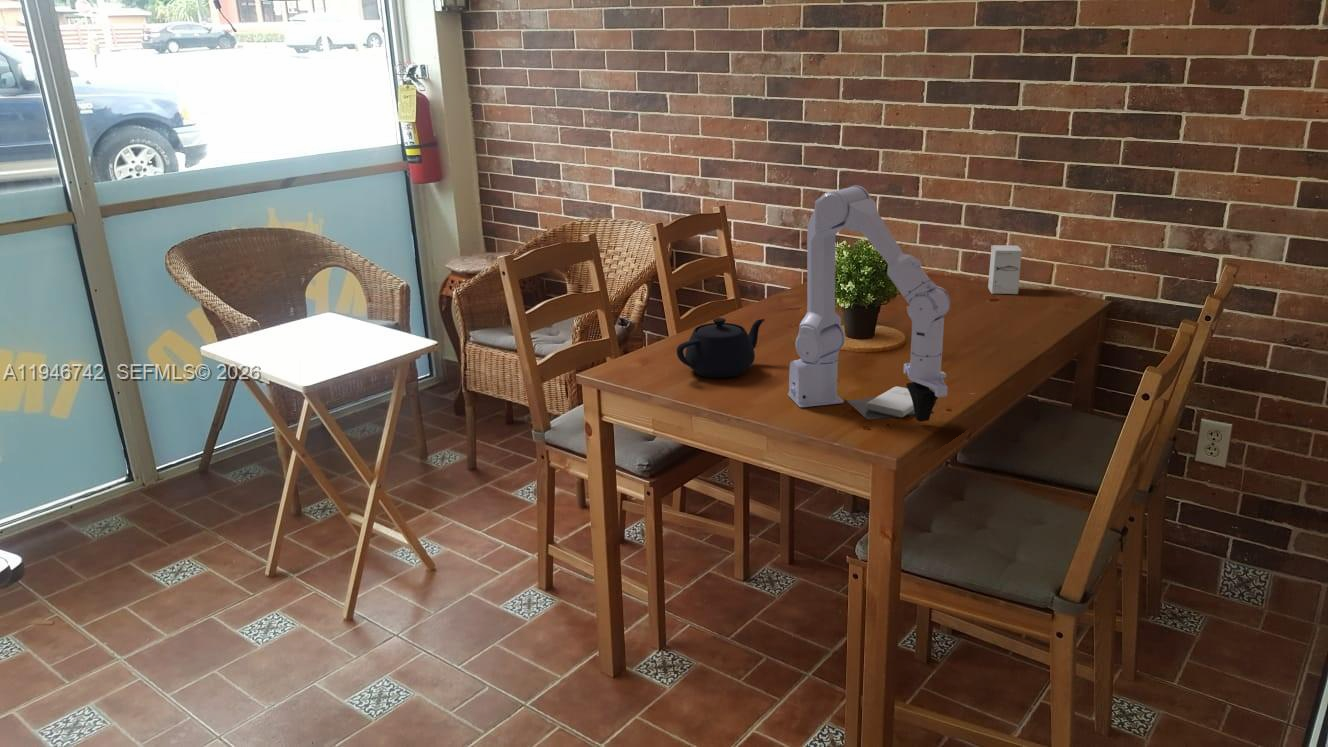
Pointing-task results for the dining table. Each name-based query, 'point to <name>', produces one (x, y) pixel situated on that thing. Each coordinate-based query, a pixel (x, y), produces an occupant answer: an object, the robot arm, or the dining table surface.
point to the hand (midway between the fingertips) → (922, 419)
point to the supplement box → (1004, 269)
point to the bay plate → (861, 408)
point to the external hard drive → (892, 402)
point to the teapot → (720, 349)
